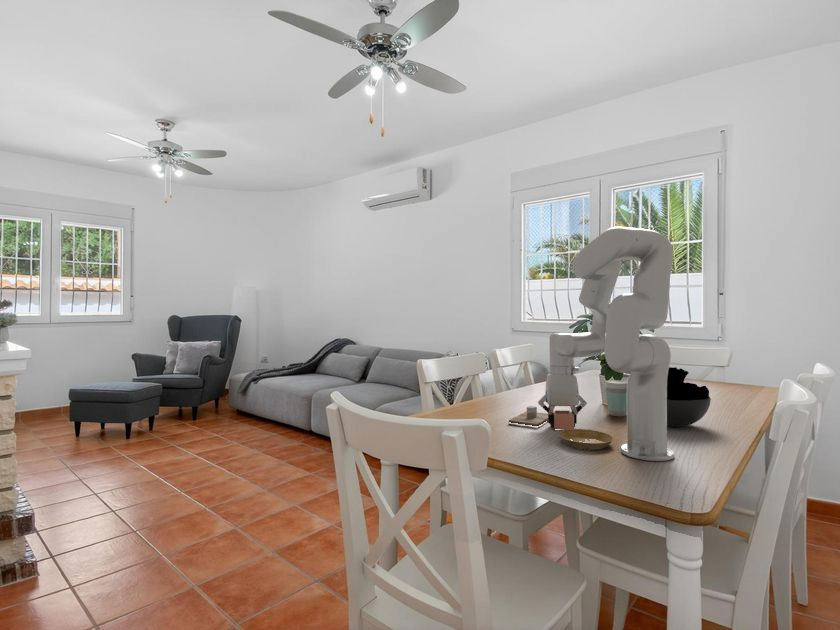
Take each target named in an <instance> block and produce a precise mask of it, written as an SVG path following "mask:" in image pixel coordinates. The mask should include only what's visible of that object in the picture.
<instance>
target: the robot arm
mask: <svg viewBox="0 0 840 630" xmlns="http://www.w3.org/2000/svg"><path fill="white" fill-rule="evenodd" d="M622 260H623V261H637V262H640V264H639V265H638V266H637V269H636V270H635V273H634V276H633V284H632V292H631V293H630V292H627V293H622V294H620V295H617V296H616V297H614V298H613V299H612V301H611V298H612V294H613V292H614V290H615V286H616V284H617V280H618V278H619V275H620V271H621V268H622ZM673 262H674V249H673V245H672V243H671V241H670V240H669V239H668V238H667V237H666V236H665V235H664V234H662V233H660V232H658V231H655V230H653V229H652V230H651V229H646V228H637V227H627V226H614V227H610V228H608V229H606V230H604V231H603V232H601V233H600V234H599V235H598V236H597V237H595V238H594V239H592V240H591V241H590V242H589V243H588V244H586V245H585V246H584V247H582V248H581V249H580V251H579V252H578V253H577V254H576V255H575V257H574V259H573V262H572V266H571V267H572V273H573V274H574V276H575V277H576V278H577V279H581V280H584V281H583V284H582V287H581V289H580V292H579V293H580V294H579V297H578V301H579V303H580V304H581V305H582V306H583V307H585V308H586V309H588V310H590V312H591V313H592V314H591V315H592V323H591V327H590V330H589V332H576V333H575V332H574V333H570V332H554V333H551V334H550V335H549V373H548V374H546V380H545V388H544V389H545V390H544V391H545V392H544V393H545V394H544V395H543V396H542V397H541V398H540V399H539V400H538V401H537V404H538V405H540V406H539V407H541V408H542V409H543V410H544V411H545V412H547V414H548V423H547V424H549V425H550V427H552V428H553V427H554V415H553V411H555V407H569V408H570V410H571V412H572V413H573V414H574V428H575V427H576V424H577V423H578V422H577V421H578V420H577V418H578V417H577V416H578V414H579V413H580V412H581V410H582V409H583V408H584V407H586V406H587V404H588V402H587V401H586V400H585V399H584V398H583V397H582V396H581V395H580V393H579V392H580V391H579V383H578V379H577V375H576V374H575V373H576V372H579V370H580V369H579V367H576V366H575V358H576V359H577V358H586V357H588V358H589V357H596V356H599V355H601V354H602V353H603V352H604V357H605V361H606V363H607V365H608V367H609V368H610V369H611V370H612V371H614V372H617V373H619V374H620V373H621V374H626V373H627V374H628V373H629V374H628V377H627V381H626V382H627V412H626V440H627V441H626V443H624V444H622V445H621V446H620V452H621V453H622V454H624V455H625V456H627V457H630V458H633V459H636V460H644V461H652V462H665V461H669V460H673V459H674V457H675V452H674V451H673V450H672V449H671V448H669V447H668V425H667V376H668V369H669V367H670V364H671V357H672V355H671V348H670V346H669V344H668V342H667V341H666V340H665V339H663V338H662V337H660V336H658V335H656V334H649V333H648V334H641V332H640V331H647V330H648V331H650V330H656V329H659V328H661V327H663V326H664V325H665V323H666V322H667V319H668V312H669V302H670V301H669V300H670V286H671V285H670V283H671V282H670V281H671V275H672V274H671V273H672V269H673ZM610 301H611V302H610ZM545 403H547V405H548V406H547V405H546V404H545Z"/></svg>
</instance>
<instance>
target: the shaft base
mask: <svg viewBox="0 0 840 630" xmlns="http://www.w3.org/2000/svg"><path fill="white" fill-rule="evenodd" d="M537 408H538V407H537V406H533V405H529V406H527V407H526V411H525V412H522V413H520V414H518V415H517V416H513V417H512V418H510V419H509V420H508V423H509V422H511V423H518V424H525V425H532V426H539V425H541V424H543V423H544V422H546V421H548V413H544V412H538V409H537Z"/></svg>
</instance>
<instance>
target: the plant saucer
mask: <svg viewBox="0 0 840 630" xmlns="http://www.w3.org/2000/svg"><path fill="white" fill-rule="evenodd" d="M558 436H559V438H560V439H561V441H563V443H565V444H566V445H567V446H569V447H571V446H572V447H571V448H574V447H575V449H578V448H580V449H579V450H586V449H598V450H603V449H605V448H607V447H608V446H610V444H611V443H612V442H613V441H614V439H615V438H614V437H613V435H611V434H608V433H605V432H603V431H599V430H594V429H593V430H592V429H585V428H584V429H581V428H577V429H576V428H574V429H571V430H560V432H559V433H558ZM570 439H572V440H573V441H571V440H570ZM585 439H587V440H588V441H590V440H589V439H596V440H599V441H602V442H604V443H583V442H585ZM579 441H582V442H579ZM602 448H603V449H602Z"/></svg>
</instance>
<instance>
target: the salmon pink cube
mask: <svg viewBox="0 0 840 630" xmlns="http://www.w3.org/2000/svg"><path fill="white" fill-rule="evenodd" d="M553 415H554V428H555V429H564V430H571V429H575V427H574V414H573V413H572V411H570V410H563V409H562V410H558V409H557V410H556V409H554V410H553ZM554 428H553V429H554ZM564 430H563V431H564Z"/></svg>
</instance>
